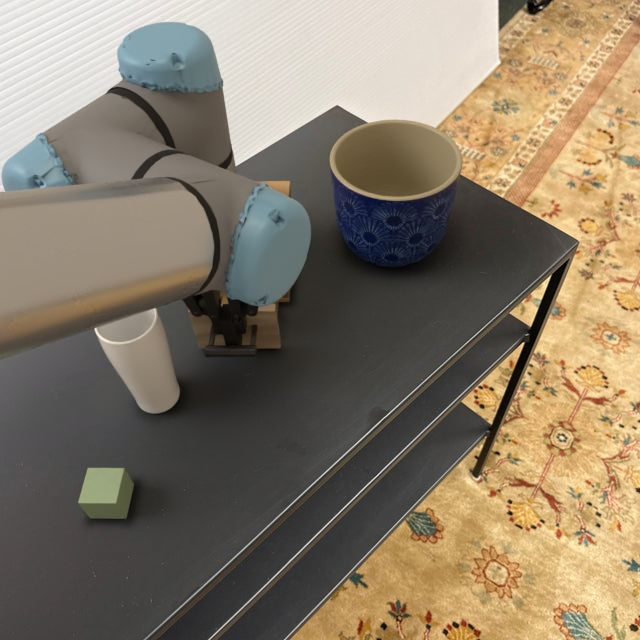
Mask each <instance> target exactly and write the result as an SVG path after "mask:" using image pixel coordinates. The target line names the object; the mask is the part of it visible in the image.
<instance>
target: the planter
mask: <svg viewBox="0 0 640 640" xmlns="http://www.w3.org/2000/svg"><path fill="white" fill-rule="evenodd" d="M329 169H330V177H331V185H332V193H333V201H334V210H335V217H336V218H335V219H336V225H337V227H338V231H339V233H340V236H341V239H342V240H343V242H344V243H345V245H346V246H347V248H348V249H349V250H350V251H351V252H352V253H353V254H354V255H355V256H356V257H358V258H360V260H363V261H364V262H367V263H369V264H372V265H374V266H377V267H382V268H383V267H384V268H400V267H406V266H410V265H413V264H415V263H418V262H420V261H421V260H423V259H425V258H426V257H428V256H429V255H430V254H431V253H432V252H433V251H434V250H435V249H437V247H438V246H439V244H440V243H441V241H442V239H443V237H444V235H445V234H446V231H447V228H448V225H449V222H450V217H451V213H452V209H453V206H454V201H455V198H456V194H457V189H458V185H459V181H460V177H461V174H462V170H463V154H462V152H461V149H460V148H459V146H458V145H457V143H456V141H454V139H453V138H452V137H450V136H449V135H448V134H447V133H445V132H443V131H442V130H440V129H438V128H436V127H434V126H432V125H429V124H426V123H423V122H419V121H415V120H408V119H382V120H375V121H370V122H367V123H364V124H361V125H358V126H355V127H354V128H352V129H350V130H348V131H347V132H345V133H344V134H343V135H342V136H340V137H339V138H338V139H337V141H336V142H335V143H334V145H333V146H332V148H331V151H330V154H329Z"/></svg>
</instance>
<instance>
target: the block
mask: <svg viewBox="0 0 640 640" xmlns="http://www.w3.org/2000/svg"><path fill="white" fill-rule="evenodd" d="M134 487H135V484H134V482H133V480H132V478H131V477H130V475H129V473H128V471H127V470H126V468H125V467H87V470H86V472H85V477H84V480H83V484H82V487H81V491H80V494H79V498H78V505H79V506H80V507H81V509H82V510H83V512H84V513H85V514H86V516H87V517H88V518H89V519H102V520H103V519H105V520H106V519H108V520H109V519H111V520H112V519H114V520H119V519H120V520H127V519H128V514H129V509H130V504H131V501H132V495H133V491H134Z"/></svg>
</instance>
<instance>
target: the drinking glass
mask: <svg viewBox="0 0 640 640" xmlns="http://www.w3.org/2000/svg"><path fill="white" fill-rule="evenodd" d="M93 330H94V332H95V334H96V338H97V341H98V342H99V344H100V347H101V349H102V350H103V352H104V354H105V356H106V358H107V359H108V361H109V362H110V365H112V367H113V369H114V370H115V371H116V373H117V374H118V376H119V377H120V378H121V380H122V382H123V383H124V384H125V386H126V387H127V389H128V390H129V393H130V394H131V395H132V397H133V399H134V400H135V402H136V405H137V406H138V407H139V409H141V410H142V411H144V412H145V413H148V414H155V415H156V414H162V413H165V412H168V411H169V410H170V409H173V407H174V406H175V405H176V404H177V402H178V400H179V399H180V394H181V388H180V385H179V382H178V379H177V376H176V371H175V365H174V362H173V357H172V353H171V348H170V344H169V339H168V334H167V332H166V329H165V325H164V323H163V321H162V318H161V316H160V313H159V311H158V309H157V308H154V309H151V310H148V311H145V312H142V313H139V314H136V315H133V316H130V317H127V318H124V319H121V320H118V321H115V322H112V323H109V324H106V325H103V326H100V327H97V328H94V329H93Z"/></svg>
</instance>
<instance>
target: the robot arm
mask: <svg viewBox="0 0 640 640" xmlns="http://www.w3.org/2000/svg"><path fill="white" fill-rule="evenodd" d="M116 56H117V61H118V69H117V70H118V72H119V75H120V77H121V78H122V79H121V80H120V81H119V82H118V83H116V84H114V85H113V86H112V87H109V88H108V90H107V91H106V92H105V93H104V94H102V95H100V96H99V97H97V98H96V99H94V100H92V101H91V102H89V103H88V104H87V105H84V106H83V107H81V108H80V109H78V110H77V111H74V112H73V113H72V114H70V115H68V116H67V117H65V118H64V119H62V120H61V121H59V122H58V123H56V124H55V125H52V126H51V127H50V128H48V129H46V130H45V131H42V132H40V133H37V134H36V136H35V139H33V140H32V141H30V142H29V143H28V144H27V145H25V146H24V147H22V148H21V149H20V150H18V151H17V152H16V153H15V154H13V155H12V156H10V157H9V158H8V159H7V160H6V161H5V162H4V164H3V166H2V169H1V175H0V176H1V177H0V178H1V183H2V187H3V189H4V191H0V361H2V360H4V359H7V358H10V357H13V356H16V355H18V354H22V353H26V352H28V351H30V350H34V349H37V348H40V347H43V346H46V345H49V344H53V343H55V342H58V341H61V340H64V339H67V338H70V337H73V336H76V335H79V334H83V333H84V332H85V333H86V332H89V331H91V330H95V329H94V328H97V327H100V326H103V325H106V324H109V323H112V322H115V321H118V320H121V319H124V318H127V317H130V316H133V315H136V314H139V313H142V312H145V311H148V310H151V309H154V308H156V309H157V308H161V307H163V306H167V305H170V304H173V303H175V302H179V301H181V300H182V302H183V303H184V304H185V306H186V307H187V309H188V310H190V312H191V313H192V315H193V316H195V317H201V316H202V315H206V316H208V317H209V319H211V322H212V326H213V330H214V332H215V334H216V335H223V337H224V341H225V345H242V339H243V338H242V334H245V333H246V330H247V318H246V315H249V316H256V315H257V312H258V307H259V306H262V307H263V306H267V305H270V304H272V303H274V302H276V301H277V300H279V299H280V298H281V297H282V296H284V295H285V294H286V293H287V292H288V291H289V289H290V290H291V289H292V288H293V286H294V284H295V283H296V281H297V279H298V278H299V276H300V274H301V272H302V270H303V268H304V265H305V264H306V261H307V258H308V253H309V249H310V246H311V239H312V224H311V219H310V216H309V214H308V212H307V210H306V209H305V207H304V206H303V204H301V203H300V202H299V201H297V200H296V199H295V198H293V197H292V198H290V197H288V196H286V195H284V194H282V193H280V192H278V191H277V190H275V189H273V188H271V187H270V186H268V185H267V183H264V182H261V183H258V182H256V180H253V179H251V178H249V177H247V176H243V175H241V174H238V173H237V166H236V160H235V154H234V150H233V145H232V141H231V140H232V139H231V134H230V127H229V121H228V114H227V107H226V100H225V96H224V95H225V94H224V80H223V78H222V75H221V71H220V67H219V62H218V59H217V55H216V51H215V48H214V45H213V42H212V39H211V38H210V37H209V35H208V34H207V33H206V32H205V31H203V30H202V29H200V28H199V27H197V26H195V25H190V24H187V23H184V22H181V21H160V22H154V23H149V24H146V25H143V26H140V27H138V28H136V29H134V30H132V31H131V32H129V33H128V34H127V35H125V37H123V39H122V43H120V44H119V46H118V48H117V50H116ZM220 291H222V292H223V293H225V294H226V295H227V300H228V304H222V298H223V296H222V298H221V295H220ZM221 304H222V305H221Z"/></svg>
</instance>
